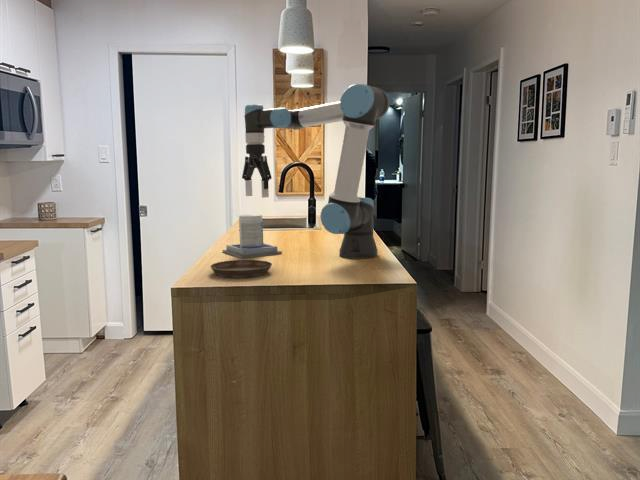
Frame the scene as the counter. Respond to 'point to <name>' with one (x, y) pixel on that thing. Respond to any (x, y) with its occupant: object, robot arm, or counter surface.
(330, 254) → the counter surface
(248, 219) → the supplement tub
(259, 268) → the plant saucer
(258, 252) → the board
